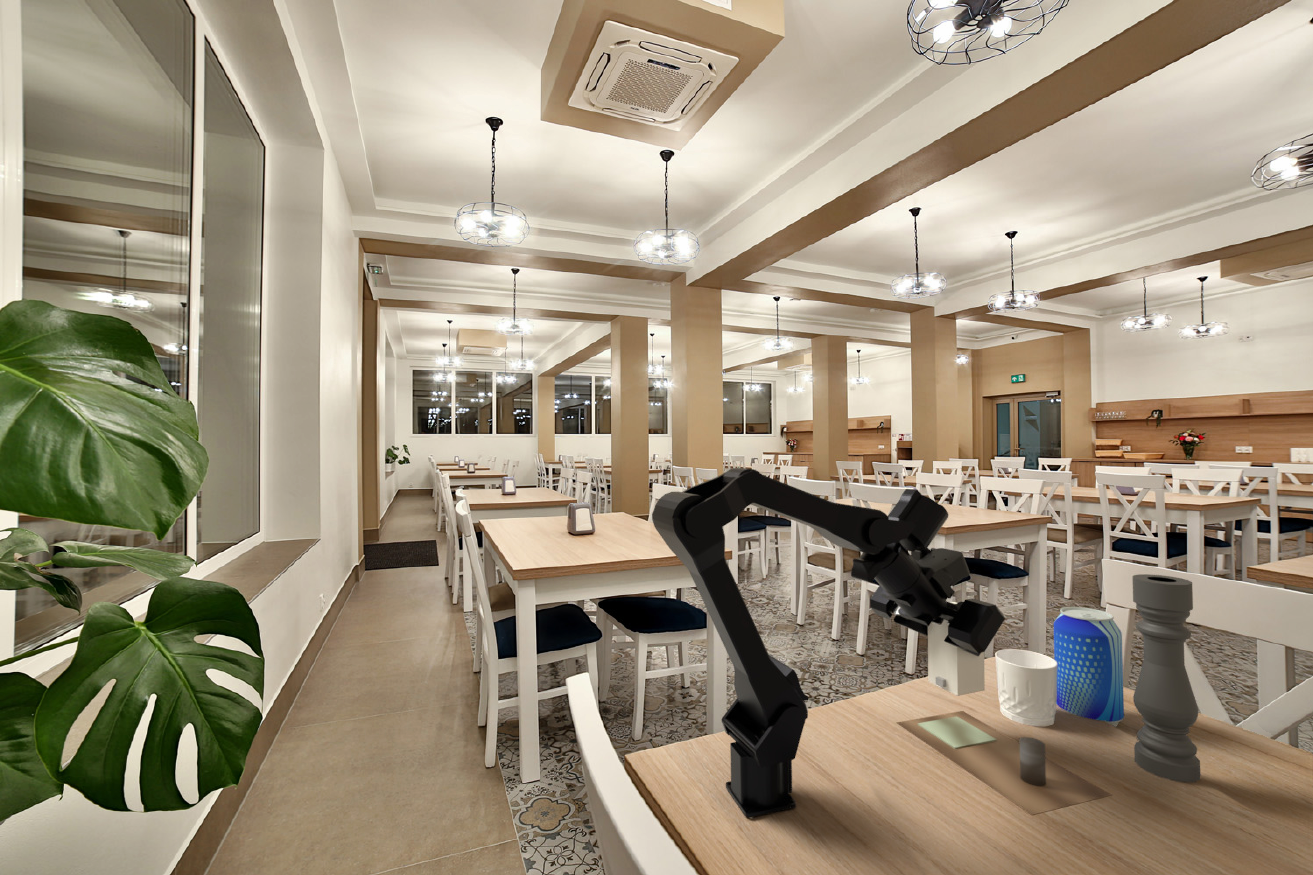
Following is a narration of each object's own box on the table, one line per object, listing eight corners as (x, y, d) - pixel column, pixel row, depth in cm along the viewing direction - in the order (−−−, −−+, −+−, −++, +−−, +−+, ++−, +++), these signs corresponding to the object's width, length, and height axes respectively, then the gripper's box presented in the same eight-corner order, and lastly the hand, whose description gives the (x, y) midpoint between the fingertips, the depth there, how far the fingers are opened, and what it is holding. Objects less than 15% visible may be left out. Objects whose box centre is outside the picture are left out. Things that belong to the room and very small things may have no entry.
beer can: (1043, 711, 90) (1041, 609, 90) (1075, 700, 94) (1073, 602, 94) (1104, 735, 82) (1101, 624, 83) (1136, 723, 86) (1133, 616, 86)
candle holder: (1214, 797, 68) (1208, 586, 68) (1154, 791, 69) (1149, 584, 70) (1178, 768, 74) (1173, 574, 74) (1123, 763, 75) (1119, 573, 76)
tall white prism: (954, 696, 77) (953, 614, 78) (925, 682, 82) (924, 605, 82) (987, 689, 80) (986, 610, 80) (957, 676, 84) (956, 601, 85)
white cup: (998, 731, 84) (996, 662, 84) (995, 709, 91) (993, 645, 91) (1063, 743, 81) (1061, 672, 81) (1055, 719, 88) (1053, 653, 88)
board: (1032, 828, 63) (1030, 773, 63) (896, 732, 84) (895, 691, 84) (1112, 807, 66) (1111, 755, 67) (962, 720, 88) (961, 681, 88)
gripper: (992, 541, 71) (1055, 620, 75) (883, 523, 89) (939, 587, 92) (945, 612, 68) (1013, 690, 72) (842, 579, 86) (901, 643, 89)
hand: (963, 646), depth 82 cm, fingers closed on tall white prism, 5 cm apart
